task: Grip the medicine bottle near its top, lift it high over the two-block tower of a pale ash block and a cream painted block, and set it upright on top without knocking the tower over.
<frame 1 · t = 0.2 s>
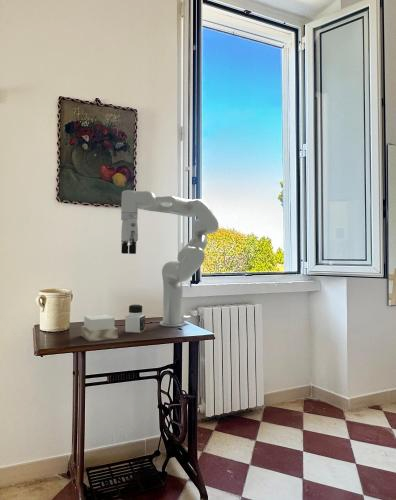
hand: (128, 253, 179), 35 cm above the table, tool pointing down, fingers open, 9 cm apart
medicine bottle: (135, 331, 177), on the table
tower base block: (99, 338, 164), on the table, touching tower top block
tower top block: (99, 327, 163), point 4 cm above the table, touching tower base block
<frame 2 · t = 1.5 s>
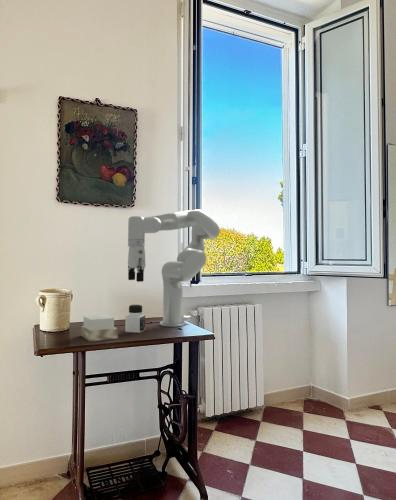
hand: (135, 280, 177), 23 cm above the table, tool pointing down, fingers open, 9 cm apart
tower base block: (99, 338, 164), on the table
tower top block: (98, 327, 163), point 4 cm above the table
everything else where it was.
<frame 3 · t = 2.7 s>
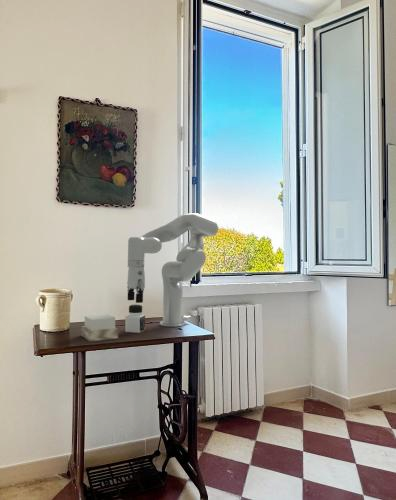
hand: (135, 301, 176), 14 cm above the table, tool pointing down, fingers open, 9 cm apart
nothing on the table moved.
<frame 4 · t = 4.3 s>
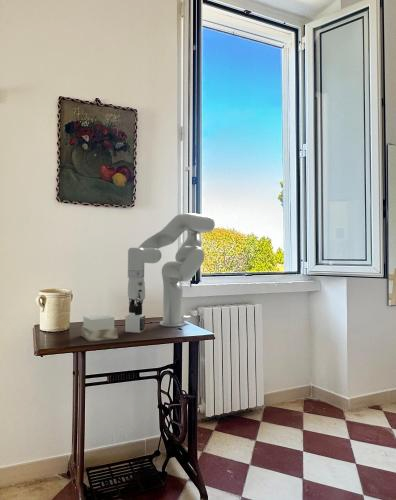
hand: (135, 313, 177), 8 cm above the table, tool pointing down, fingers closed on medicine bottle, 6 cm apart
medicine bottle: (135, 331, 177), on the table, touching gripper
tower base block: (99, 338, 164), on the table, touching tower top block
tower top block: (98, 327, 163), point 4 cm above the table, touching tower base block
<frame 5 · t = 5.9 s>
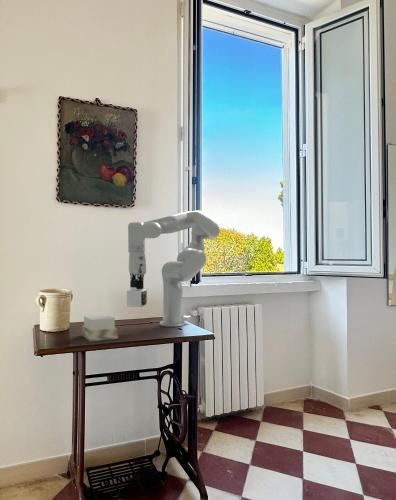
hand: (136, 287, 177), 20 cm above the table, tool pointing down, fingers closed on medicine bottle, 6 cm apart
medicine bottle: (137, 306, 177), point 11 cm above the table, touching gripper
everything else where it was.
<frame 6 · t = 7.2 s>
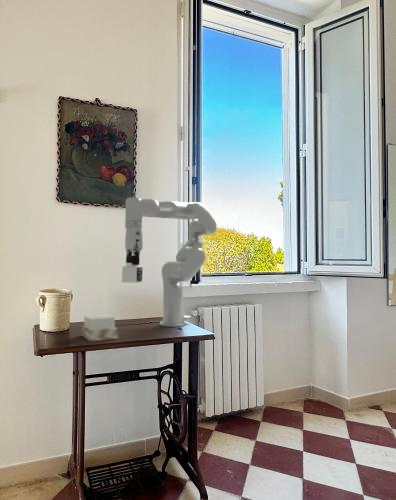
hand: (132, 264, 175), 31 cm above the table, tool pointing down, fingers closed on medicine bottle, 6 cm apart
medicine bottle: (132, 282, 175), point 22 cm above the table, touching gripper
everything else where it was.
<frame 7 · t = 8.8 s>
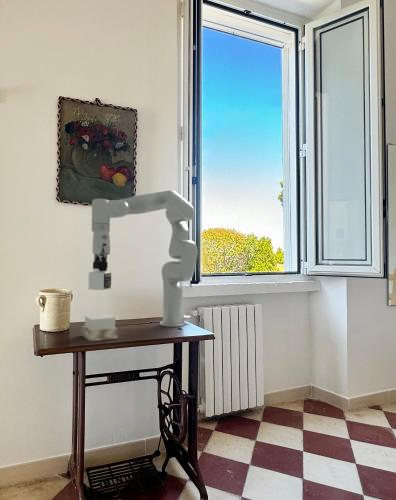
hand: (100, 270, 164), 28 cm above the table, tool pointing down, fingers closed on medicine bottle, 6 cm apart
medicine bottle: (99, 289, 164), point 20 cm above the table, touching gripper
everything else where it was.
when the fingers open (18 cm above the table, at t = 10.9 s): medicine bottle drops 2 cm, resting on tower top block.
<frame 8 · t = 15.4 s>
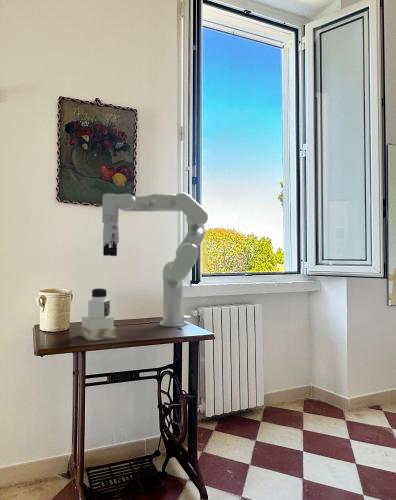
hand: (109, 255, 183), 34 cm above the table, tool pointing down, fingers open, 9 cm apart
medicine bottle: (99, 317, 164), point 8 cm above the table, touching tower top block
tower base block: (98, 337, 165), on the table, touching tower top block
tower top block: (97, 327, 165), point 4 cm above the table, touching medicine bottle, tower base block
at the end: medicine bottle 0.9 cm off-centre on the tower top block, point 4.3 cm above the tower top block's base; medicine bottle tilted 1°; tower top block 0.4 cm from the tower base block (horizontally) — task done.
